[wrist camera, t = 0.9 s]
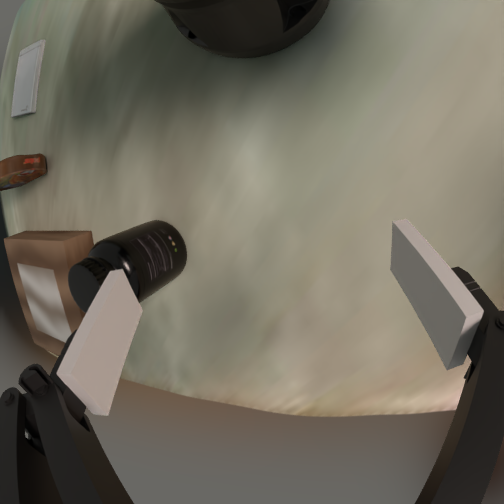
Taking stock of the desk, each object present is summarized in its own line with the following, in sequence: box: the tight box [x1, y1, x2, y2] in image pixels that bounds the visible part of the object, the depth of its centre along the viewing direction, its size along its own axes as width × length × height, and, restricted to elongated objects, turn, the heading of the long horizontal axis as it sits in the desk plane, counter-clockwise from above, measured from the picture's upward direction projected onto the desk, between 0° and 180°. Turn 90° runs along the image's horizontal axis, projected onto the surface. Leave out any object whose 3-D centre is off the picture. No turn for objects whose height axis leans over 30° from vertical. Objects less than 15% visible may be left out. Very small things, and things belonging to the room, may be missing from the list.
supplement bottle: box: [68, 220, 187, 313], centre depth 28 cm, size 7×7×12 cm
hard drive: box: [11, 40, 46, 117], centre depth 35 cm, size 2×8×12 cm
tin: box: [0, 154, 47, 191], centre depth 36 cm, size 15×3×8 cm, turn 99°
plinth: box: [4, 231, 94, 356], centre depth 42 cm, size 20×20×5 cm
